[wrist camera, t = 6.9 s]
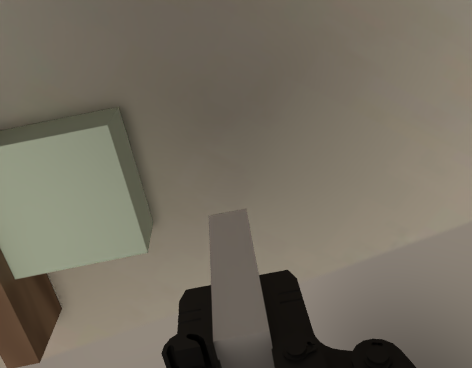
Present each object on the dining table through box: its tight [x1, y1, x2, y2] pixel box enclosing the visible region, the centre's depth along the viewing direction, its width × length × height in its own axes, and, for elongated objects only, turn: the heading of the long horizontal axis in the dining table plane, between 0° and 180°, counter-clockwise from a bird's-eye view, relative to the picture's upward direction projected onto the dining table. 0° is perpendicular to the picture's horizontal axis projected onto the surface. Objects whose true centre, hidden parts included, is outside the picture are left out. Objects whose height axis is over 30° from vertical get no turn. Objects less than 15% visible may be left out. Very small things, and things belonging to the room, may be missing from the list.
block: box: [0, 107, 153, 279], centre depth 27 cm, size 8×8×4 cm
